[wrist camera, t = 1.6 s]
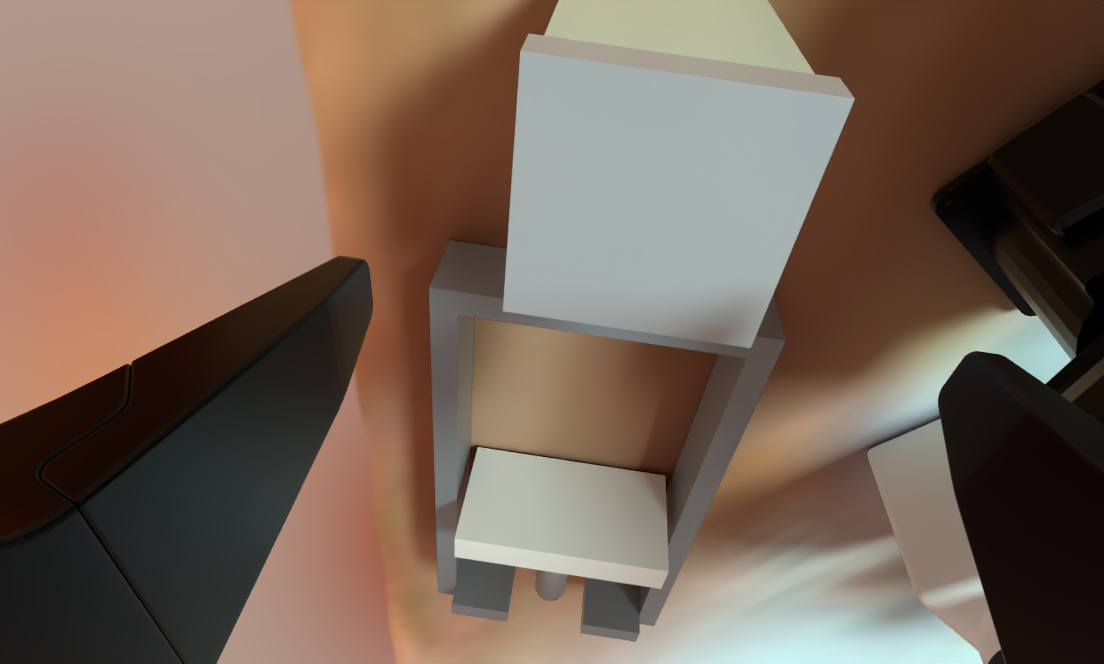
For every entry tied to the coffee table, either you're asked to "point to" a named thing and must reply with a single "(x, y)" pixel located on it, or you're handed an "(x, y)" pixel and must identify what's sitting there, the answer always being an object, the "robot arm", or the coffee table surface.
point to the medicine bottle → (934, 534)
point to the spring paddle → (564, 520)
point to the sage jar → (663, 165)
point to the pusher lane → (455, 300)
